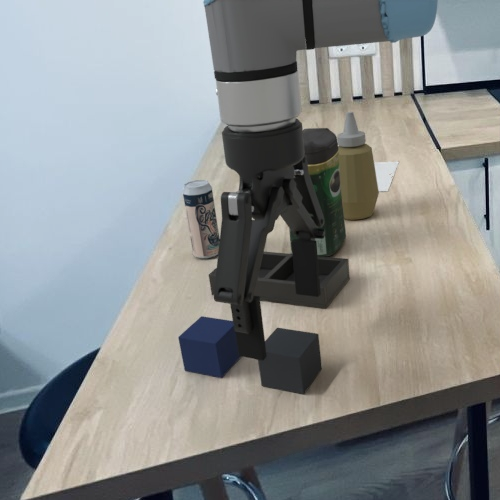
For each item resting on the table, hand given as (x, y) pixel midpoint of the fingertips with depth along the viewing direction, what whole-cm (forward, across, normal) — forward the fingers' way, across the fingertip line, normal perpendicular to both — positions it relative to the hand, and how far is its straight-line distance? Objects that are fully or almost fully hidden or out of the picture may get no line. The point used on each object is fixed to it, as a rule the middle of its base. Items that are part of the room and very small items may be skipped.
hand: (282, 323), depth 69 cm
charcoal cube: (+7, 0, 0) cm, 7 cm away
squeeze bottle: (+7, -49, -10) cm, 51 cm away
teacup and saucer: (+7, -70, -20) cm, 73 cm away
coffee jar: (+7, -34, -11) cm, 36 cm away
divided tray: (+7, -20, -11) cm, 24 cm away
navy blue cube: (+7, 0, -10) cm, 12 cm away
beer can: (+7, -28, -28) cm, 40 cm away
